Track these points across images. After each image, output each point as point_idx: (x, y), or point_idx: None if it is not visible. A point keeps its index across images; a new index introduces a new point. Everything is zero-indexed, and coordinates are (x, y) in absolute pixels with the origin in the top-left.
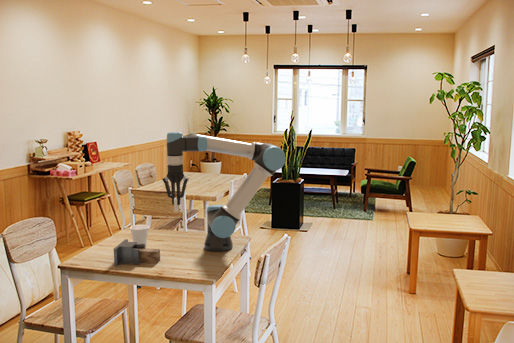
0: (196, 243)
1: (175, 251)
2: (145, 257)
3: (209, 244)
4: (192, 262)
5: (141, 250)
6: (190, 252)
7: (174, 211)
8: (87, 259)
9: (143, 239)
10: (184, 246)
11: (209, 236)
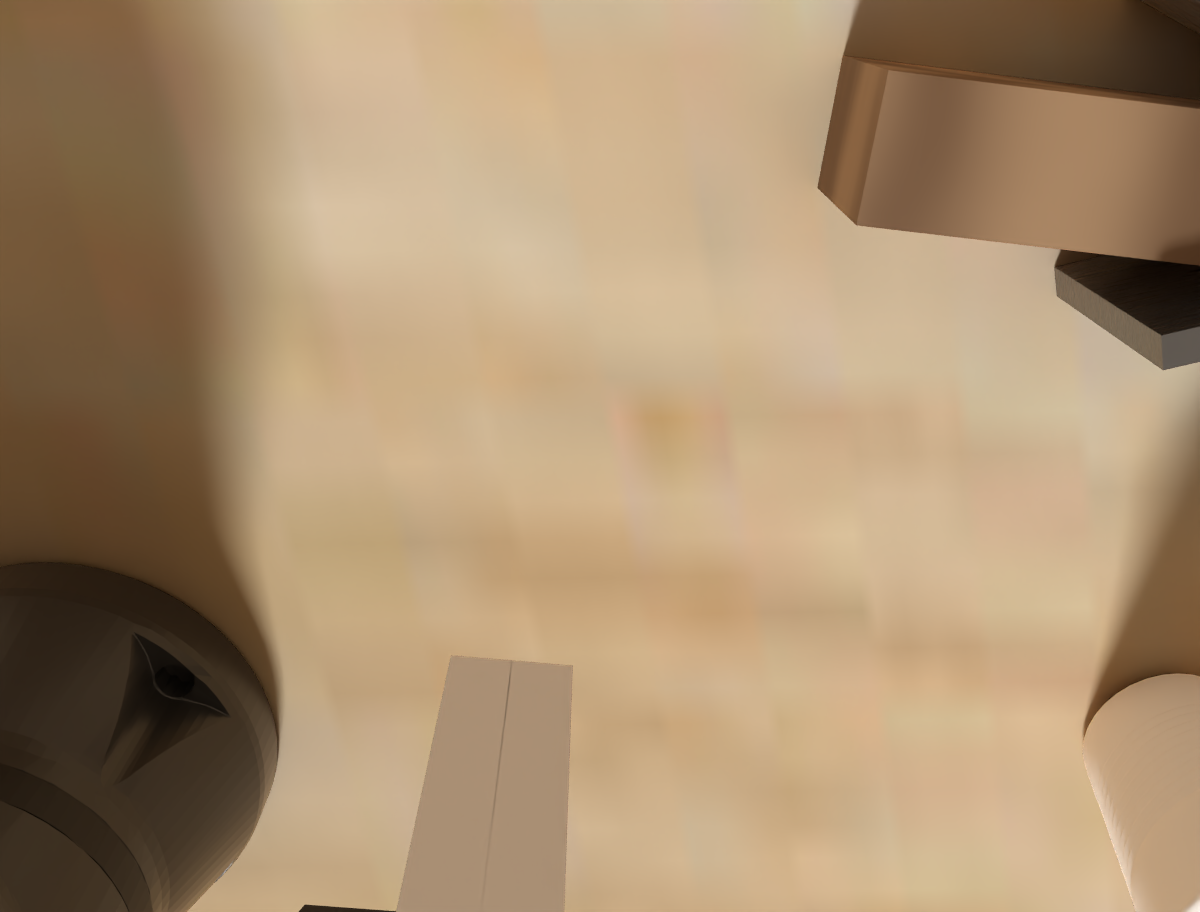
0: None
1: (645, 568)
2: (1070, 87)
3: (136, 657)
4: (292, 100)
5: (1190, 147)
6: (423, 533)
7: (560, 674)
8: None
9: (1164, 757)
10: None
11: (100, 765)
